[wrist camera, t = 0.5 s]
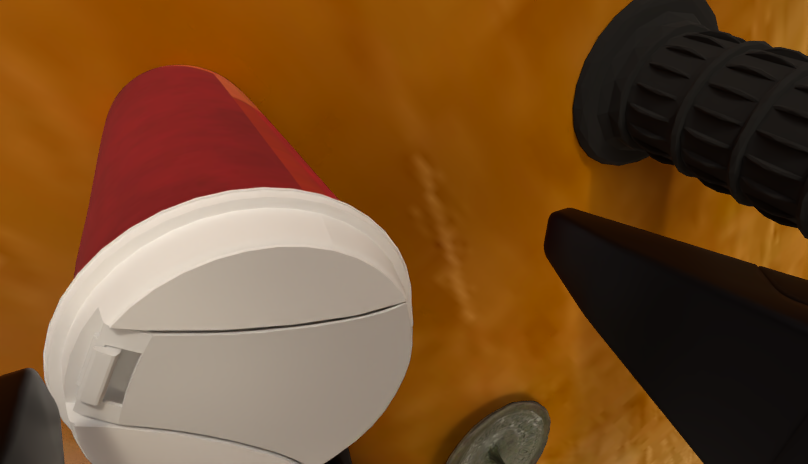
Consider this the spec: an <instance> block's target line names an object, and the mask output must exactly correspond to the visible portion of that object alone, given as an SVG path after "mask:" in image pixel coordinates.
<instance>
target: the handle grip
mask: <svg viewBox="0 0 808 464" xmlns="http://www.w3.org/2000/svg"><path fill="white" fill-rule="evenodd" d="M573 113H574V129H575V132H576V135H577V138H578V140H579V143H580V146H581V147H582V148H583V149H584V151H585V152H586V153H587V154H588V156H589V157H591V158H593V159H594V160H596V161H598V162H600V163H602V164H610V165H618V166H620V165H624V164H629V163H633V162H638V161H640V160H642V159H644V158H647V157H649V156H650V157H651V158H653V159H655V160H657V161H659V162H661V163H665V164H671V165H675V166H676V168H677V169H678V171H679V172H680V173H682V174H684V175H686V176H689V177H696V178H698V179H699V180H700V181H701V182H702V183H703V184H704V185H705V186H707V187H709V188H711V189H713V190H715V191H717V192H720V193H725V194H729V195H732V197H733V198H734V199H735V200H736V201H737V202H738V203H739V204H743V205H746V206H754V207H755V208H756V209H757V210H758V211H759V212H760V213H761V214H762V215H764V216H765V217H767V218H769V219H771V220H773V221H775V222H777V223H779V224H781V225H786V226H790V227H795V228H798V229H799V230H800V232H801V233H802V234H803V236H804V237H805V238H807V239H808V56H806V55H804V54H802V53H801V52H799V51H795V50H791V49H786V48H782V47H774V48H773V47H771V46H770V45H769V44H767V43H766V42H765V41H747V42H746V41H745V40H744V39H742V38H738V37H735V36H732V35H731V34H729V33H725V32H721V31H719V30H718V26H717V21H716V17H715V14H714V13H713V11H712V10H711V8H710V7H709V5H708V4H707V2H706V0H633V1H632V2H631V3H630V4H629V5H628V6H627V7H626V8H624V9H623V10H622V11H621V12H620V13H619V14H618V15H616V16H615V18H614V19H613V20H612V21H611V22H610V24H609V25H608V26H607V27H606V29H605V30H604V31H603V32H602V34H601V35H600V36H599V37H598V39H597V41H596V43H595V45H594V46H593V48H592V50H591V52H590V53H589V55H588V57H587V59H586V60H585V63H584V66H583V69H582V72H581V74H580V77H579V80H578V83H577V87H576V93H575V100H574V106H573Z"/></svg>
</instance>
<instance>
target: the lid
mask: <svg viewBox="0 0 808 464" xmlns="http://www.w3.org/2000/svg"><path fill="white" fill-rule="evenodd" d="M549 430H550V417H549V415H548V411H547V410H546V409H545V407H544V406H542V405H540V404H539V403H538V402H535V401H519V402H512V403H509V404H507V405H506V406H504V407H502V408H500V409H498V410H496V411H494V412H492V413H491V414H489V415H488V416H486V417H485V418H483V419H482V420H481V421H480V422H479V423H477V424H476V425H475V426H474V427H473V428H472V429H471V430H470V431H469V432H468V433H467V434H466V435H465V436H464V438H463V439H462V440H461V441H460V443H459V444H458V445H457V447H456V448H455V449H454V451H453V452H452V454H451V455H450V457H449V459H448V461H447V463H446V464H536V463H537V461H538V459H539V458H540V456H541V454H542V452H543V450H544V447H545V445H546V443H547V440H548V434H549Z"/></svg>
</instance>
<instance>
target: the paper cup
mask: <svg viewBox="0 0 808 464" xmlns="http://www.w3.org/2000/svg"><path fill="white" fill-rule="evenodd" d="M412 326H413V315H412V300H411V283H410V279H409V275H408V270H407V266H406V264H405V262H404V260H403V258H402V256H401V253H400V251H399V249H398V248H397V246H396V245H395V244H394V242H393V241H392V240H391V238H390V237H389V236H388V234H387V233H386V232H385V231H384V230H383V229H382V228H381V227H380V226H379V225H378V224H376V223H375V222H374V221H373V220H372V219H371V218H370V217H369V216H367V215H365V214H364V213H362V212H360V211H359V210H357V209H355V208H354V207H352V206H350V205H349V204H347V203H344V202H341V201H339V200H338V198H337V197H336V196H335V195H334V194H333V193H332V192H331V190H330V189H329V188H328V187H327V186H326V185H325V184H324V183H323V181H322V180H321V179H320V178H319V177H318V176H317V175H316V173H315V172H314V171H313V170H312V169H311V168H310V167H309V165H308V164H307V163H306V162H305V161H304V160H303V159H302V157H301V156H300V155H299V154H298V153H297V152H296V151H295V150H294V148H293V147H292V146H291V145H290V144H289V143H288V142H287V140H286V139H285V138H284V137H283V136H282V135H281V134H280V133H279V131H278V130H277V129H276V128H275V127H274V126H273V125H272V124H271V122H270V121H269V120H268V119H267V118H266V117H265V116H264V115H263V114H262V113H261V111H260V110H259V109H258V108H257V107H256V106H255V105H254V104H253V103H252V102H251V101H250V100H249V99H248V98H247V96H246V95H245V94H244V93H243V92H242V91H240V90H239V89H238V88H237V87H236V86H235V85H234V84H232V83H231V82H230V81H228V80H227V79H225V78H224V77H222V76H220V75H218V74H216V73H214V72H212V71H209V70H207V69H204V68H200V67H195V66H189V65H169V66H163V67H159V68H155V69H152V70H149V71H147V72H145V73H143V74H141V75H139V76H137V77H136V78H134V79H133V80H132V81H131V82H129V83H128V84H127V85H126V86H125V87H124V88H123V89H122V90H121V91H120V93H119V94H118V95H117V97H116V98H115V100H114V102H113V103H112V106H111V108H110V110H109V113H108V116H107V119H106V123H105V127H104V131H103V135H102V139H101V144H100V149H99V154H98V159H97V165H96V170H95V176H94V181H93V186H92V192H91V197H90V203H89V208H88V212H87V217H86V221H85V225H84V230H83V234H82V239H81V243H80V247H79V252H78V256H77V261H76V267H75V273H74V280H73V281H72V283H71V284H70V285H69V287H68V288H67V290H66V291H65V293H64V294H63V296H62V297H61V299H60V301H59V303H58V305H57V308H56V310H55V312H54V314H53V317H52V319H51V321H50V324H49V326H48V332H47V337H46V342H45V347H44V352H43V358H44V379H45V382H46V386H47V389H48V390H49V392H50V393H51V395H52V397H53V398H54V400H55V402H56V404H57V406H58V409H59V414H60V417H61V418H62V420H63V421H64V423H65V424H66V425H67V426H68V427H69V428H70V429H71V430H72V433H73V436H74V438H75V440H76V442H77V443H78V445H79V447H80V448H81V450H82V452H83V453H84V455H85V457H86V458H87V459H88V460H89V461H90V462H91V463H92V464H324V463H326V462H327V461H329V460H330V459H332V458H333V457H335V456H336V455H338V454H339V453H340V452H342V451H343V450H344V449H346V448H347V447H348V446H350V445H351V444H353V443H354V442H355V441H356V440H358V439H359V438H360V437H361V436H362V435H363V434H364V433H365V432H366V431H367V430H368V429H370V428H371V427H372V426H373V424H374V423H375V422H376V421H377V420H378V418H379V417H380V416H381V415H382V414H383V412H384V411H385V410H386V408H387V407H388V405H389V404H390V402H391V400H392V399H393V397H394V396H395V394H396V392H397V390H398V388H399V386H400V384H401V382H402V380H403V378H404V376H405V373H406V371H407V368H408V365H409V362H410V358H411V350H412V332H413V329H412Z"/></svg>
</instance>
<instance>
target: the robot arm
mask: <svg viewBox="0 0 808 464" xmlns="http://www.w3.org/2000/svg"><path fill="white" fill-rule="evenodd" d="M544 252H545V255H546V257H547V259H548V260H549V262H550V263H551V265H552V267H553V268H554V270H555V271H556V273H557V274H558V276H559V277H560V279H561V280H562V282H563V283H564V285H565V287H566V288H567V290H568V291H569V293H570V294H571V296H572V297H573V299H574V300H575V302H576V303H577V305H578V307H579V308H580V309H581V311H582V312H583V314H584V315H585V317H586V318H587V319H588V321H589V322H590V323H591V324H592V326H593V327H594V328H595V329H596V331H597V332H598V333H599V334H600V336H601V337H602V338H603V339H604V341H605V342H606V343H607V344H608V346H609V347H610V348H611V349H612V350H613V352H614V353H615V354H616V355H617V357H618V358H619V359H620V360H621V362H622V363H623V364H624V365H625V367H626V368H627V369H628V370H629V372H630V373H631V374H632V375H633V377H634V378H635V379H636V380H637V381H638V383H639V384H640V385H641V386H642V388H643V389H644V390H645V391H646V393H647V394H648V395H649V396H650V398H651V399H652V400H653V401H654V403H655V404H656V405H657V406H658V407H659V409H660V410H661V411H662V412H663V414H664V415H665V416H666V417H667V419H668V420H669V421H670V422H671V424H672V425H673V426H674V427H675V429H676V430H677V431H678V432H679V434H680V435H681V436H682V437H683V438H684V440H685V441H686V442H687V443H688V445H689V446H690V447H691V448H692V450H693V451H694V452H695V453H696V455H697V456H698V457H699V458H700V460H701V461H702V462H703V463H704V464H808V280H805V279H802V278H799V277H795V276H792V275H788V274H785V273H782V272H778V271H775V270H772V269H769V268H765V267H762V266H759V267H758V266H757V265H755V264H752V263H749V262H746V261H742V260H739V259H736V258H733V257H729V256H726V255H723V254H720V253H716V252H713V251H710V250H707V249H703V248H700V247H697V246H694V245H690V244H687V243H684V242H681V241H677V240H674V239H671V238H668V237H664V236H661V235H658V234H655V233H651V232H648V231H645V230H642V229H638V228H635V227H632V226H629V225H625V224H622V223H619V222H616V221H612V220H609V219H606V218H603V217H599V216H596V215H593V214H590V213H586V212H583V211H580V210H577V209H573V208H566V209H562V210H559V211H556V212H553V213H552V214H551V215H550V217H549V219H548V224H547V230H546V235H545V241H544ZM0 464H64V453H63V443H62V432H61V421H60V414H59V409H58V406H57V404H56V402H55V400H54V398H53V397H52V395H51V393H50V392H49V390H48V389H47V387H46V385H45V384H44V382H43V381H42V379H41V377H40V376H39V374H38V373H37V372H36V371H35V370H34V369H32V368H25V369H21V370H18V371H15V372H11V373H8V374H5V375H2V376H0ZM324 464H352V462H351V458H350V453H349V449H348V447H347V448H346V449H344V450H343V451H342V452H340V453H339V454H338V455H336V456H335V457H333V458H332V459H330V460H329V461H327V462H326V463H324Z"/></svg>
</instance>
